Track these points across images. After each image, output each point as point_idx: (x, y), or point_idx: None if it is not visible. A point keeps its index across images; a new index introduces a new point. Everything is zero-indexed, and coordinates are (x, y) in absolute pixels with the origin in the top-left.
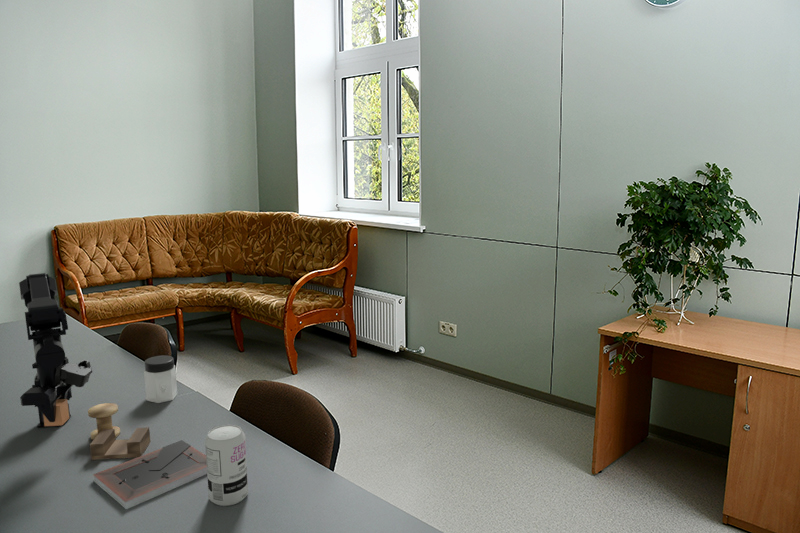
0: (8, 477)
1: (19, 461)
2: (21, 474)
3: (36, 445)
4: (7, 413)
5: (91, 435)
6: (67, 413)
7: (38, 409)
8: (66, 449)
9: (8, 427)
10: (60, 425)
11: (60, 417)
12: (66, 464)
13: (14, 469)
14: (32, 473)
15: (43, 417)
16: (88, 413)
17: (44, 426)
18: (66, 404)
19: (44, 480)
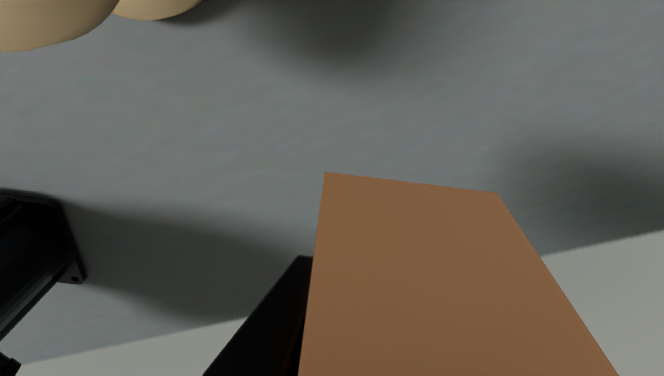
0: None
1: None
2: None
3: (243, 242)
4: None
5: (178, 6)
6: (353, 215)
7: (7, 333)
8: (302, 116)
9: (100, 344)
10: (57, 206)
11: (533, 260)
12: (484, 69)
13: None
14: (507, 194)
15: (40, 288)
16: (76, 31)
17: (79, 258)
18: (351, 318)
19: (614, 129)
